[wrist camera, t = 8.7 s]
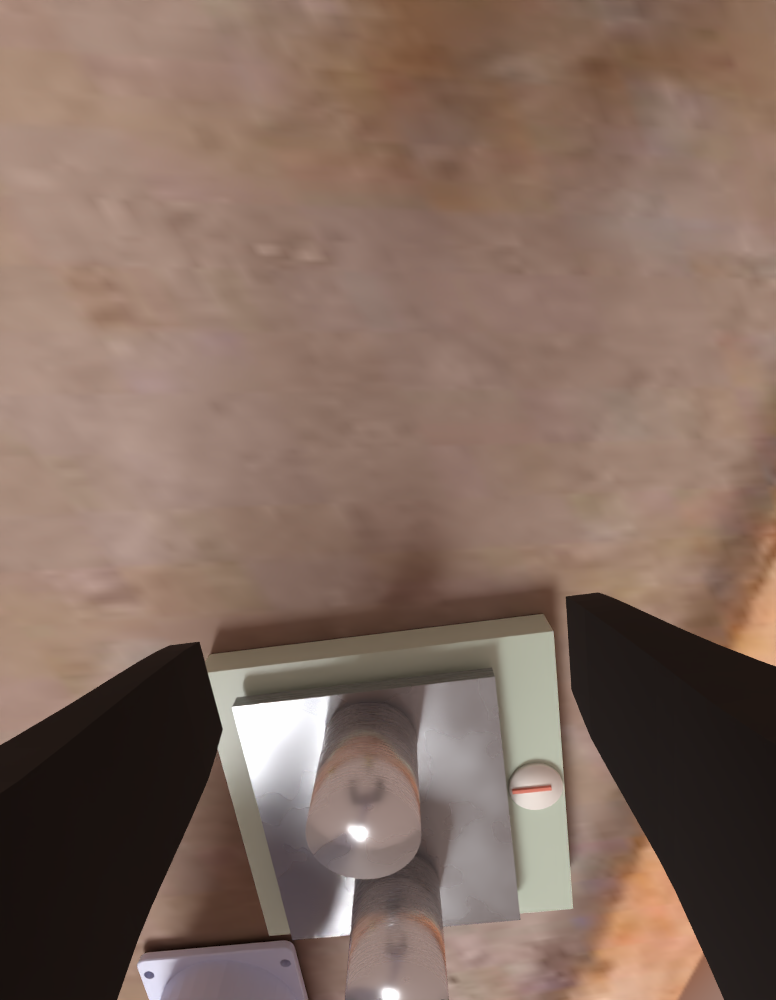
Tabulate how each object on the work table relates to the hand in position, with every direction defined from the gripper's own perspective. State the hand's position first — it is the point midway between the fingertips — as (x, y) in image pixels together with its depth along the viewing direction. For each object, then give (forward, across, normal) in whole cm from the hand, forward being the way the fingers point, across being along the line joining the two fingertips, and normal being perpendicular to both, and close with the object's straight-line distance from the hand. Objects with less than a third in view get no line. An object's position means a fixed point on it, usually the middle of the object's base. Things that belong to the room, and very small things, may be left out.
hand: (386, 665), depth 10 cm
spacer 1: (+8, +2, +8) cm, 11 cm away
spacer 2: (+8, +2, +16) cm, 17 cm away
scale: (+10, +2, +12) cm, 16 cm away
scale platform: (+9, +2, +12) cm, 15 cm away
